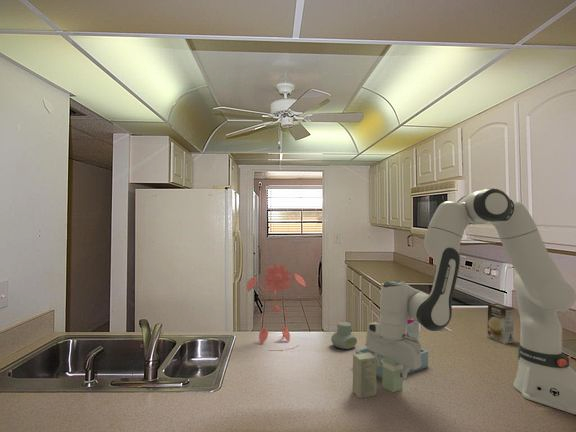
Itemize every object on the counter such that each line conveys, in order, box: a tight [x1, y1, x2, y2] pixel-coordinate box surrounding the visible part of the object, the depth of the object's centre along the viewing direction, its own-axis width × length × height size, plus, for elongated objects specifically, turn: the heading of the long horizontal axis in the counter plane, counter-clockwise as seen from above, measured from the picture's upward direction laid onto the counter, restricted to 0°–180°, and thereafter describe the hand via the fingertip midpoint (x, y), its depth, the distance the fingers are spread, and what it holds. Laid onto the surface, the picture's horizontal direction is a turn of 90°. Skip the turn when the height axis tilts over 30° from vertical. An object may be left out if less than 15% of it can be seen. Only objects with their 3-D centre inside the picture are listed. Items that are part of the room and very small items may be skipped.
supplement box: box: [407, 319, 420, 342], centre depth 154 cm, size 6×6×12 cm
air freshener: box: [330, 321, 358, 350], centre depth 148 cm, size 11×8×10 cm
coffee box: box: [486, 302, 515, 345], centre depth 161 cm, size 9×6×16 cm
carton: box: [381, 356, 404, 393], centre depth 113 cm, size 5×5×10 cm
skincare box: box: [352, 352, 377, 399], centre depth 109 cm, size 6×4×12 cm
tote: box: [354, 347, 429, 381], centre depth 129 cm, size 15×24×6 cm, turn 124°
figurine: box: [246, 263, 307, 352], centre depth 149 cm, size 15×26×35 cm, turn 103°
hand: (391, 372), depth 113 cm, fingers open, 8 cm apart
